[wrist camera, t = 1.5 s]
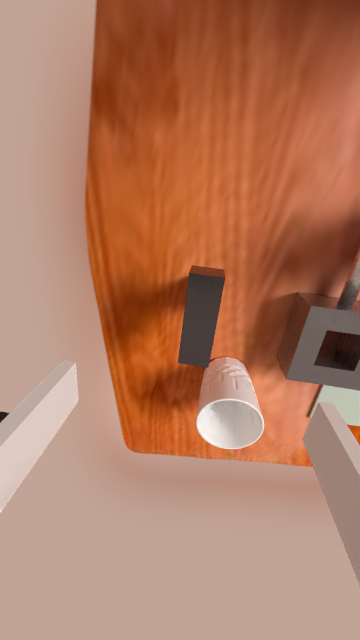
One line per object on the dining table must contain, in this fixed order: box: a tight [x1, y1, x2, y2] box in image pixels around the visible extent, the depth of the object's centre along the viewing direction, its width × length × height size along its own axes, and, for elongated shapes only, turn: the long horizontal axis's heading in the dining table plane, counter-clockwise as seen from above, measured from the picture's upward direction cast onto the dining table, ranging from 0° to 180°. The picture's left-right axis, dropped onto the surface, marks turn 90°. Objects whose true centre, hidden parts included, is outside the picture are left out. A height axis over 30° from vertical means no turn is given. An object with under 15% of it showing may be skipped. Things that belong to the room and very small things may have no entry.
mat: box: [309, 385, 360, 426], centre depth 38 cm, size 9×9×1 cm
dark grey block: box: [178, 266, 225, 368], centre depth 28 cm, size 9×3×12 cm, turn 174°
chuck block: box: [277, 247, 360, 391], centre depth 30 cm, size 18×10×5 cm, turn 174°
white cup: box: [196, 357, 264, 449], centre depth 34 cm, size 8×8×10 cm
